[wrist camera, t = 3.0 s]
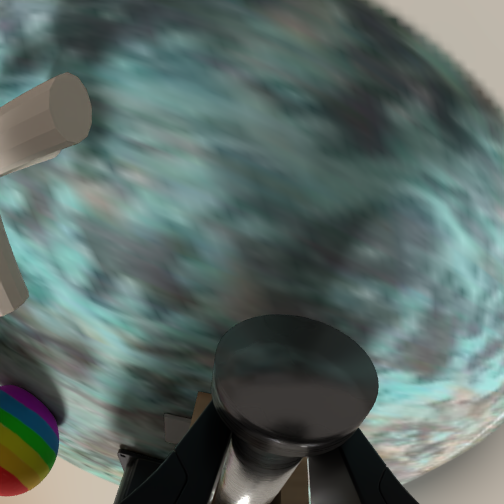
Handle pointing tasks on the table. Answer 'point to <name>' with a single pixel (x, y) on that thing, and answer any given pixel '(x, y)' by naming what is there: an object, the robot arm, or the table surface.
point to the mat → (176, 428)
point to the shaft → (285, 400)
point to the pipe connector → (37, 152)
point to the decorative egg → (25, 441)
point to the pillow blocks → (296, 487)
